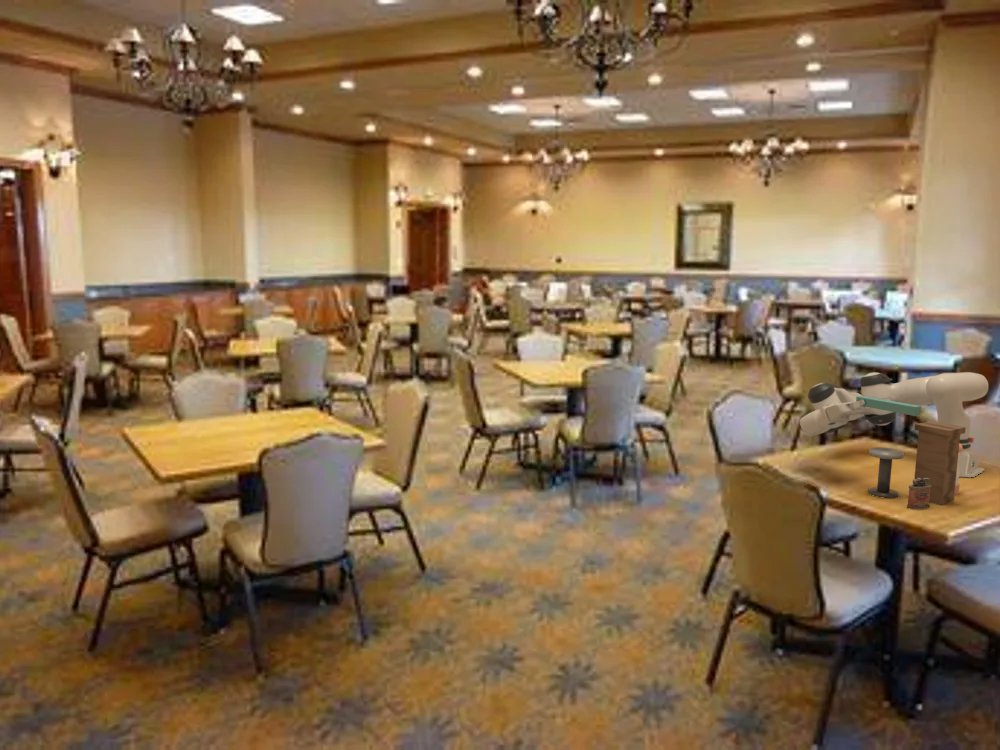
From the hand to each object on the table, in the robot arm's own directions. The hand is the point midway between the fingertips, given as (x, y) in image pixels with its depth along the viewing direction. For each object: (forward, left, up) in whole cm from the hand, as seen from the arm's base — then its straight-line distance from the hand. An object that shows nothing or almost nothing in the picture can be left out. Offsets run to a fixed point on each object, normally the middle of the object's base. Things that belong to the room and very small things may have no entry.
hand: (868, 400), depth 299 cm
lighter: (+5, +24, -32) cm, 40 cm away
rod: (0, +7, -2) cm, 7 cm away
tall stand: (-8, +22, -32) cm, 39 cm away
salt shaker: (-21, +20, -32) cm, 43 cm away
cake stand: (+1, +9, -32) cm, 33 cm away
